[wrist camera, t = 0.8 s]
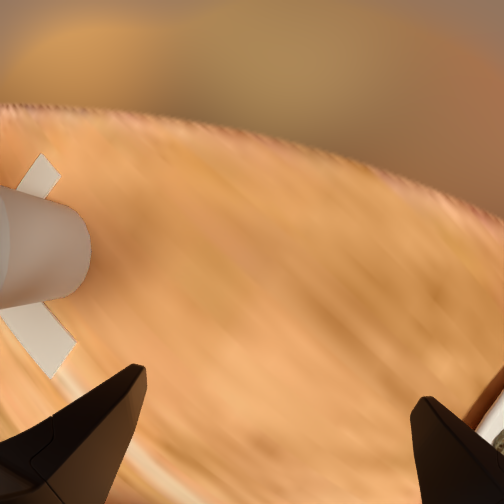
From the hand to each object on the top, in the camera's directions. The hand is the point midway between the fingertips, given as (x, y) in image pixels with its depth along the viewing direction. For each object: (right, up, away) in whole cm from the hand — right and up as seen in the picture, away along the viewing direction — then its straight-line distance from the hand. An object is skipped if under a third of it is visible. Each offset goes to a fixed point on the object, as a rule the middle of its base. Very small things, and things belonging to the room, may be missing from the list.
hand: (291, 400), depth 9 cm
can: (-17, +4, +14) cm, 22 cm away
